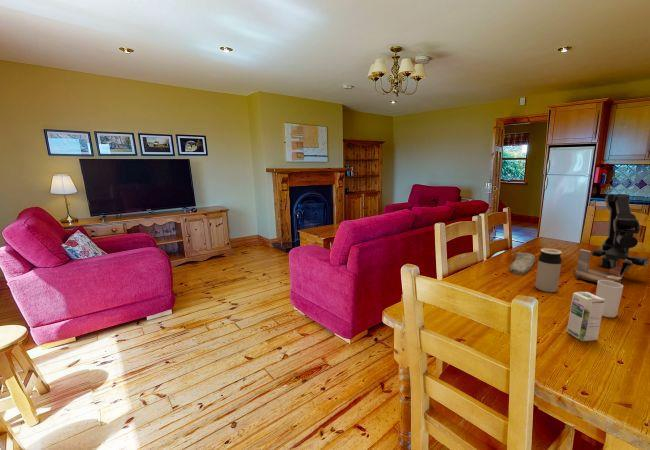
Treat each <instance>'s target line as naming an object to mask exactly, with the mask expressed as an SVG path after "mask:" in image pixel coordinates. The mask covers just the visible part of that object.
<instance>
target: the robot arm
mask: <svg viewBox="0 0 650 450" xmlns="http://www.w3.org/2000/svg"><path fill="white" fill-rule="evenodd" d="M630 199H631V195H629V194H627V193H609V194H607V195H606V196H605V199H604V202H605V207H606V208H607V209H608V210H609V215H608V216H609V217H608V228H607V229H608V230H607V232H608V233H607V237H606V238H605V240H604V241H603V242H602V244H601V246H600V248H598V249H594V250H592V251H591V256H594V257H597V258H599V257H601V263H599V264H598V265H597V266H598V267H602V268H606V269H608V270H609V269H610V268H613V267H618V268H620V266H619V265H617V264H618V262H619V261H620V260H622V261H624V262H622V267H621V268H622V269H621V273H620V275H623V273H626V271H627V270H628V269H629V268H630V267H631V266H633V265H635V266H641V267H645V266H647V265H649V263H650V260H649V258H648V257H642V256H634V257H632V256H630V249H633V248H634V247H636V246H637V245H638V243H639V242H638V239H637V238H636V237H635V236H634V234H639V232H640V231H641V230H640V229H641V225H640V222H639V220H638V219H637V216H636V215H635V214H634V213H632V211H631V207H630ZM623 276H624V275H623Z"/></svg>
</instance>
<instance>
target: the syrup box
mask: <svg viewBox="0 0 650 450" xmlns="http://www.w3.org/2000/svg"><path fill="white" fill-rule="evenodd" d="M604 303H605V299H602V298H600V297H598V296H596V294H593V293H591V292H589V291H576V292H573V293H572V298H571V302H570V311H569V318H568V320H567V321H568V322H567V327H566V333H567V332H568V334H570V335H571V336H573V338H574V337H575V339H577V340H579V341H581V342H591V341H598V338H599V333H600V328H601V323H602V317H603V316H602V313H603V308H604Z"/></svg>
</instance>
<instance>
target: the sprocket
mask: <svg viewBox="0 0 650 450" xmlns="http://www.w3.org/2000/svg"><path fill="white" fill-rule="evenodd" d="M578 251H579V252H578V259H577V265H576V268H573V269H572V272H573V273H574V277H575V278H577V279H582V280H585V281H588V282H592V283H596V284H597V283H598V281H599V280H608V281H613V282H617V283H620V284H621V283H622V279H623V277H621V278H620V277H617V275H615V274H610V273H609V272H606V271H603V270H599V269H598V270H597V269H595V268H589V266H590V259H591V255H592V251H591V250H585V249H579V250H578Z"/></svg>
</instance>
